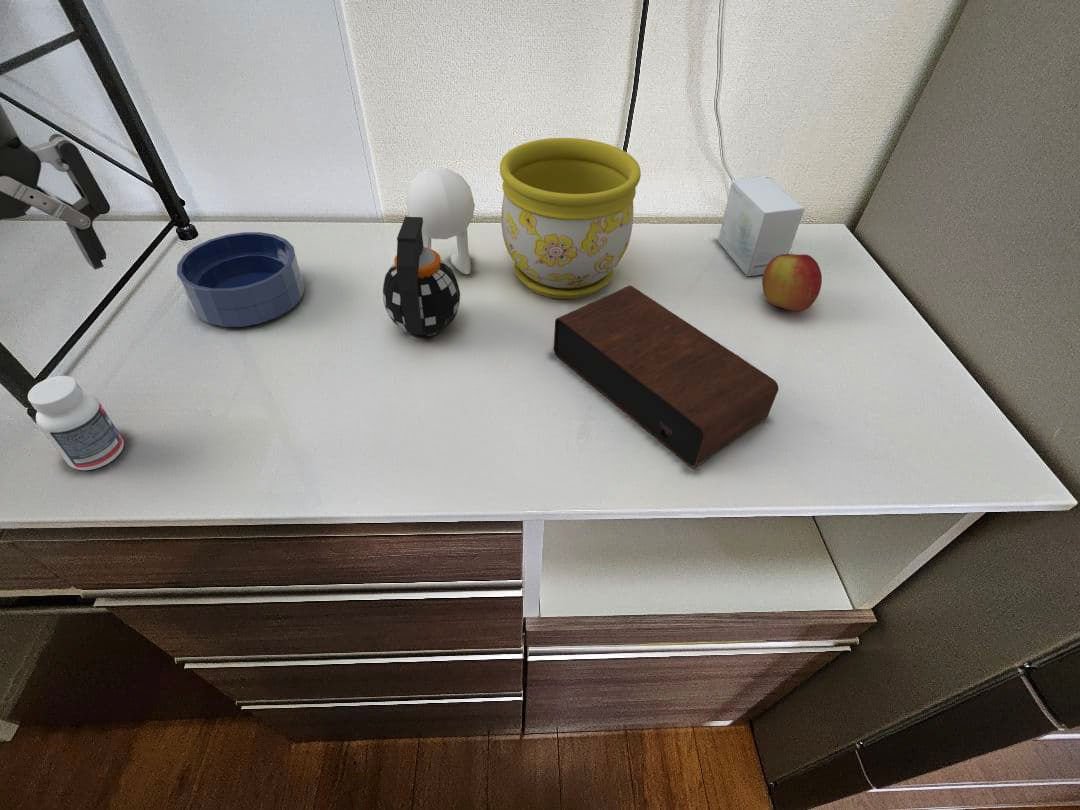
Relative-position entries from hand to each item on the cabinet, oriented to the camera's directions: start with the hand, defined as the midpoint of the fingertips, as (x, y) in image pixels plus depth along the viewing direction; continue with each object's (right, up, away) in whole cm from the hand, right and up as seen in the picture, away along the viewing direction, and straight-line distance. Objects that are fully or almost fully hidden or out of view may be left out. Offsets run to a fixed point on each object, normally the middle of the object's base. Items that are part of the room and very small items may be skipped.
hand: (41, 284), depth 52 cm
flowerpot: (+45, +9, +39) cm, 60 cm away
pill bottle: (-4, -15, +13) cm, 20 cm away
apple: (+75, +3, +35) cm, 83 cm away
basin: (+2, +4, +33) cm, 33 cm away
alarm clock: (+55, -8, +22) cm, 60 cm away
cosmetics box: (+74, +13, +44) cm, 87 cm away
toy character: (+28, +9, +39) cm, 49 cm away
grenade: (+27, -1, +29) cm, 39 cm away
